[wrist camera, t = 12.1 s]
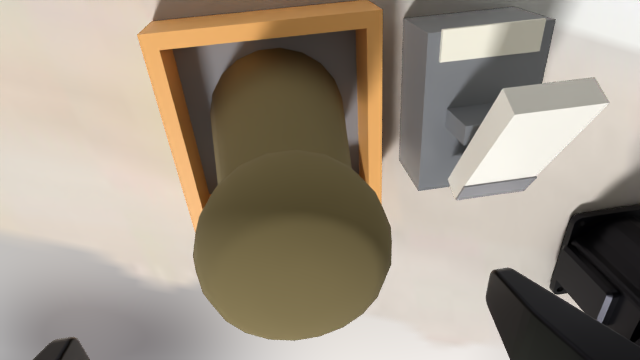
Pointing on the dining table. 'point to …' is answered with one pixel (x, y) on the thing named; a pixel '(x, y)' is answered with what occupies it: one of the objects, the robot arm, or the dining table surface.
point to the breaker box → (461, 81)
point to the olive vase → (287, 204)
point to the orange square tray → (245, 38)
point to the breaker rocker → (524, 135)
